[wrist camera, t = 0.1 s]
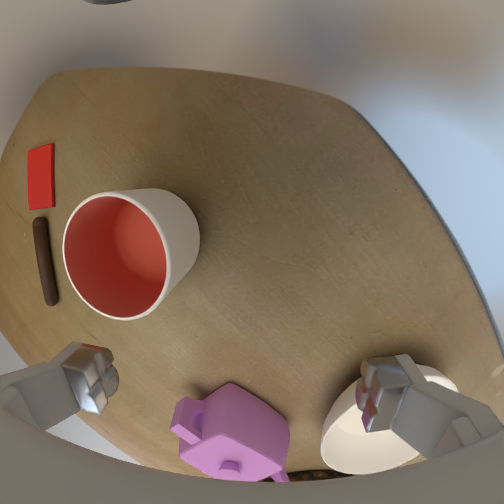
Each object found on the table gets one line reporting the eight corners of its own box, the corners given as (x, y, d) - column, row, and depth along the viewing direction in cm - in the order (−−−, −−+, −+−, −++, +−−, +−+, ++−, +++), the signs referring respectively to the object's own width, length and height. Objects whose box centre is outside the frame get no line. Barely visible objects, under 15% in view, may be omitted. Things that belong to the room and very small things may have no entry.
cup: (201, 185, 28) (167, 187, 18) (205, 282, 30) (176, 326, 20) (115, 190, 28) (56, 197, 19) (122, 278, 31) (72, 314, 21)
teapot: (311, 430, 34) (318, 486, 25) (259, 458, 37) (256, 509, 27) (214, 360, 32) (195, 420, 22) (166, 399, 35) (141, 452, 25)
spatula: (30, 151, 28) (20, 150, 26) (54, 143, 28) (44, 142, 26) (45, 301, 33) (37, 306, 31) (69, 304, 32) (61, 310, 30)
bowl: (412, 314, 30) (441, 344, 23) (448, 392, 32) (468, 421, 25) (287, 395, 33) (289, 436, 26) (349, 453, 36) (357, 486, 29)
